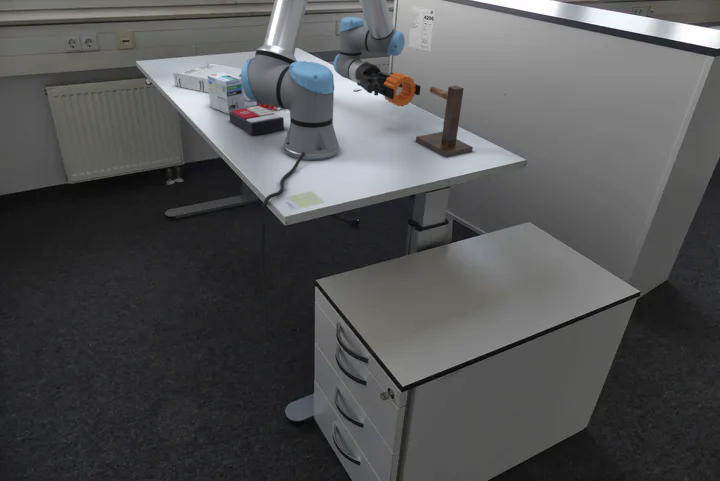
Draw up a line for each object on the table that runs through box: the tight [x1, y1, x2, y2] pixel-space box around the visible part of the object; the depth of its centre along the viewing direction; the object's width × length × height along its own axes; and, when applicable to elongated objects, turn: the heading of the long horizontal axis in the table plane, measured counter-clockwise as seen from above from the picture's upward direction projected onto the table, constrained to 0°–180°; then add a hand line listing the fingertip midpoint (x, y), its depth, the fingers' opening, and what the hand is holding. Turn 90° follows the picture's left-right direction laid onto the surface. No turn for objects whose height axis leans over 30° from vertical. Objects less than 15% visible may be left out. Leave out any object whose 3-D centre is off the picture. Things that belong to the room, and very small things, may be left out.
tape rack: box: [415, 85, 474, 158], centre depth 161 cm, size 16×10×18 cm, turn 32°
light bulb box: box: [207, 72, 245, 115], centre depth 183 cm, size 11×7×11 cm, turn 47°
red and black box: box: [228, 105, 285, 136], centre depth 172 cm, size 11×4×15 cm
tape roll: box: [382, 72, 416, 107], centre depth 169 cm, size 9×5×9 cm, turn 122°
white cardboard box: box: [173, 62, 251, 102], centre depth 206 cm, size 19×33×5 cm, turn 64°
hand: (406, 92), depth 166 cm, fingers closed on tape roll, 9 cm apart
